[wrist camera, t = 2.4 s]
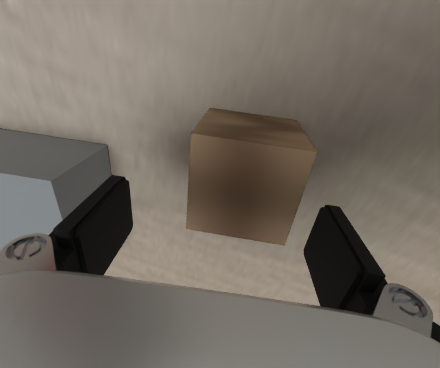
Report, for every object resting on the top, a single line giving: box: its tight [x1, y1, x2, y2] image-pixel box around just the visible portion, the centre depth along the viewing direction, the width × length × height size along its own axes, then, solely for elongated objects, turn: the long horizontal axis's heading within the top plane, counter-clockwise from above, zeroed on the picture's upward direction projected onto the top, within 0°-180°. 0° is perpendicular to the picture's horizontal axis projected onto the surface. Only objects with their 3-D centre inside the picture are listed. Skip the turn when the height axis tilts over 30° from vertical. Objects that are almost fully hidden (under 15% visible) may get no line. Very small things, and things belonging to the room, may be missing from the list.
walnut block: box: [186, 108, 317, 245], centre depth 15 cm, size 6×6×6 cm
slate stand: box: [0, 129, 111, 252], centre depth 19 cm, size 10×10×6 cm
